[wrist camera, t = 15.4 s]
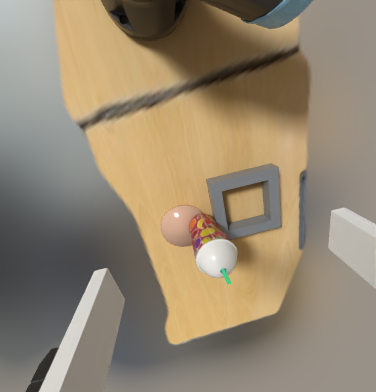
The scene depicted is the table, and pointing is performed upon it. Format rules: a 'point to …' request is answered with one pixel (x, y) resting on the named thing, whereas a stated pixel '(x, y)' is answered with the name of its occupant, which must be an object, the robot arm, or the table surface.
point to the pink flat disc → (178, 224)
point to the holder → (242, 178)
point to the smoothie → (212, 247)
